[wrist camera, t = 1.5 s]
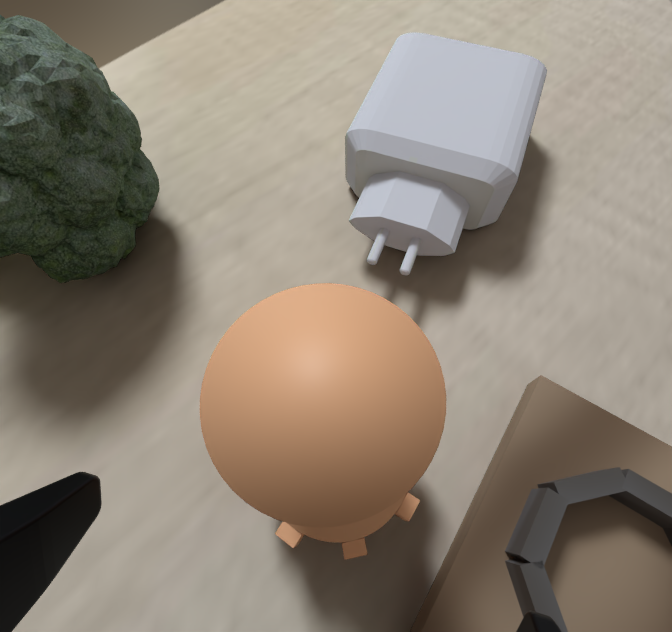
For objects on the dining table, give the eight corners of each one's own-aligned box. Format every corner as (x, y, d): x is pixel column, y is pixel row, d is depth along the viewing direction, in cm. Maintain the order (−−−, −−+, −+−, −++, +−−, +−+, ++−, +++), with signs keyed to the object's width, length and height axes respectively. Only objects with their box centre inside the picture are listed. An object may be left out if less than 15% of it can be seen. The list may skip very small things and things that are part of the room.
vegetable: (-69, 123, 26) (89, -39, 21) (81, 287, 31) (238, 186, 26) (-383, 149, 15) (-214, -167, 10) (-79, 393, 20) (136, 257, 15)
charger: (306, 267, 23) (389, 98, 29) (466, 319, 22) (520, 129, 27) (296, 212, 19) (397, 27, 25) (495, 272, 17) (553, 59, 23)
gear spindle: (431, 530, 17) (608, 575, 6) (276, 566, 17) (111, 698, 5) (390, 381, 20) (452, 200, 8) (257, 409, 20) (122, 260, 8)
